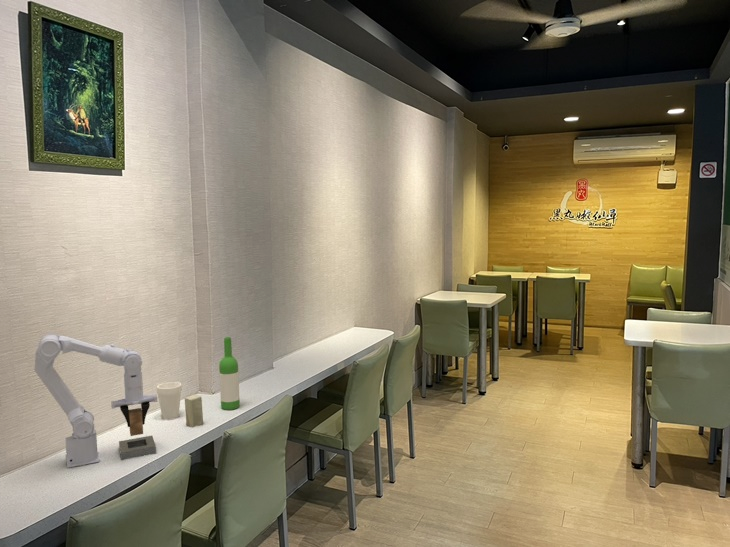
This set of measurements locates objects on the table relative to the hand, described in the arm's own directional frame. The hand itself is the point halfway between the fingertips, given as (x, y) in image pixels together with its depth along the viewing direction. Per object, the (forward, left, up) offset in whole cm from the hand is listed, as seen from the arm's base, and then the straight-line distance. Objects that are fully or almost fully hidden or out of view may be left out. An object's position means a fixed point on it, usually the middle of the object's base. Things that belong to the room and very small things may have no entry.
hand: (136, 424), depth 193 cm
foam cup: (+15, +30, -10) cm, 35 cm away
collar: (0, 0, -9) cm, 9 cm away
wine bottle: (+39, +29, -10) cm, 50 cm away
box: (+22, +16, -10) cm, 29 cm away
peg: (0, 0, -3) cm, 3 cm away
